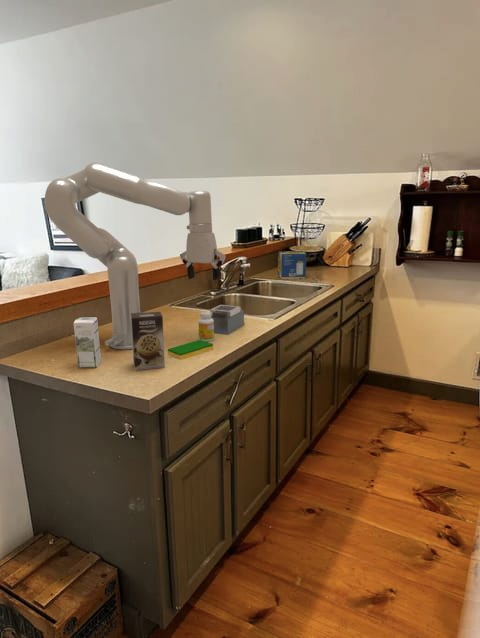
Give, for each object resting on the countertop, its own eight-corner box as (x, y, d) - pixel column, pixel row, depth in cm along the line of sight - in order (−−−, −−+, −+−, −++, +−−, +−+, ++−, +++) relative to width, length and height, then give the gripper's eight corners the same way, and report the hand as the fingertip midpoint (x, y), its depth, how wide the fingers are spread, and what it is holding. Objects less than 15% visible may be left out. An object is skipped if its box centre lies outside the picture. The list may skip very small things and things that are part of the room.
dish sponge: (167, 355, 152) (166, 348, 151) (200, 345, 161) (200, 339, 160) (180, 361, 147) (180, 353, 146) (213, 350, 156) (213, 343, 155)
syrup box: (101, 361, 146) (97, 316, 142) (96, 368, 140) (92, 321, 136) (83, 361, 146) (78, 316, 142) (77, 368, 140) (72, 321, 136)
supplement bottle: (196, 339, 167) (195, 312, 165) (208, 336, 170) (207, 310, 168) (204, 342, 163) (203, 315, 161) (217, 339, 166) (216, 313, 164)
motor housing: (227, 334, 172) (227, 313, 170) (206, 331, 176) (205, 311, 173) (247, 323, 187) (247, 303, 185) (227, 320, 190) (226, 301, 188)
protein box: (277, 276, 288) (277, 251, 284) (302, 276, 289) (302, 250, 285) (280, 279, 278) (281, 253, 274) (306, 279, 279) (306, 253, 275)
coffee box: (134, 370, 138) (130, 318, 133) (133, 363, 144) (129, 312, 139) (165, 367, 140) (162, 315, 136) (163, 360, 146) (160, 310, 142)
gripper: (173, 229, 158) (176, 279, 162) (218, 230, 151) (221, 282, 156) (184, 227, 164) (187, 275, 169) (228, 228, 158) (230, 278, 162)
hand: (203, 278), depth 162 cm, fingers open, 9 cm apart
